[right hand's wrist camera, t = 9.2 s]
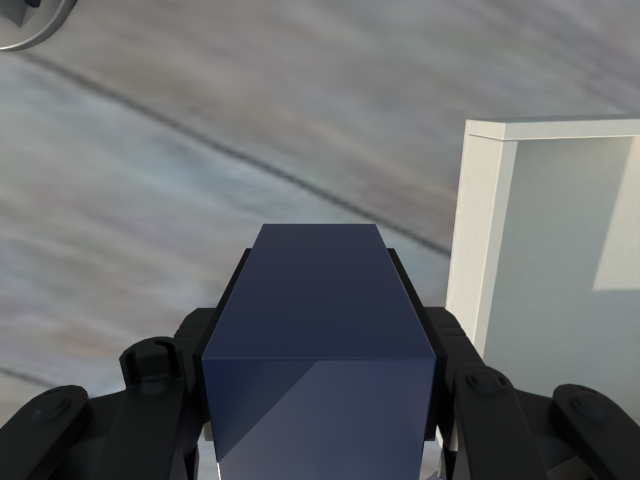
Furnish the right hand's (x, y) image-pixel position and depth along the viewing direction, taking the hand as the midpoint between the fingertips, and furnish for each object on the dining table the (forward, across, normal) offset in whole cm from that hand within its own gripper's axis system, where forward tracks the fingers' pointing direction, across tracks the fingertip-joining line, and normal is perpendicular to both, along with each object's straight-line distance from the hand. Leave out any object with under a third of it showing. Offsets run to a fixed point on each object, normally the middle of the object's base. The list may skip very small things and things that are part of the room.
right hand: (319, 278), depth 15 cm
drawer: (+9, +18, -6) cm, 20 cm away
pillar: (0, 0, 0) cm, 0 cm away
